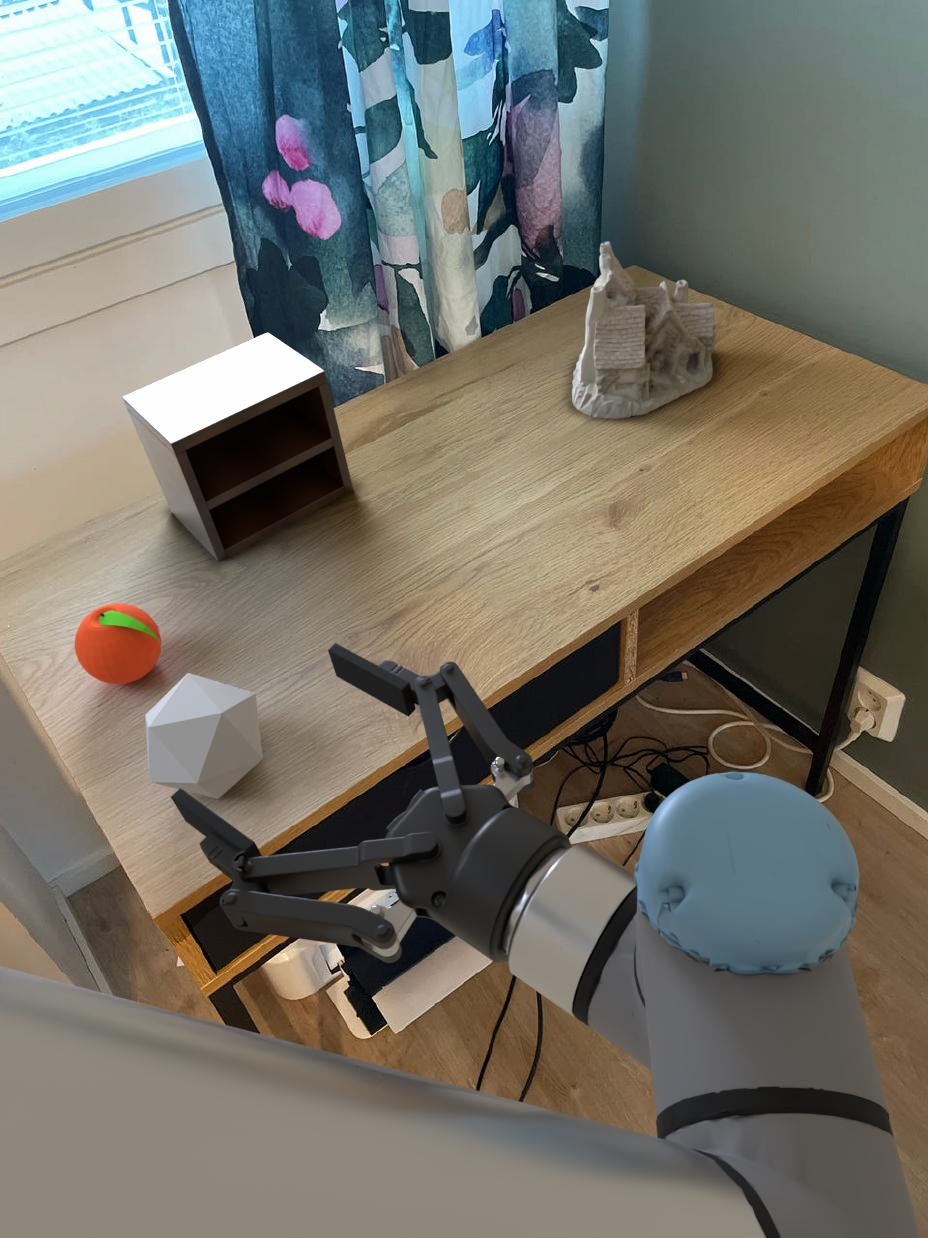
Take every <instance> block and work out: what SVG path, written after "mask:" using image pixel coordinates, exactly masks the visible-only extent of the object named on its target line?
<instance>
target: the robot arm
mask: <svg viewBox="0 0 928 1238" xmlns="http://www.w3.org/2000/svg"><path fill="white" fill-rule="evenodd" d="M327 652H328V654H329V657H330V661H331V664H332V668H333V670H334V674H335V676H336V678H338V679H340V680H342V681H343V682H346V683H347V684H349V685H351V686H353V687H354V688H356V689H358V690H360V691H362V692H363V693H365V694H367V695H369V696H371V697H373V698H374V699H376V700H378V701H380V702H381V703H383V704H385V705H387V706H388V707H390V708H392V709H394V710H396V711H397V712H399V713H401V714H403V715H405V716H406V717H408V718H409V717H410V716H411V715H413V713H414V712H415V711H416V710H417V708H416V705H417V706H418V708H419V711H420V715H421V719H422V723H423V728H424V732H425V737H426V741H427V744H428V749H429V753H430V757H431V761H432V766H433V769H434V774H435V777H436V783H437V786H433V787H430V788H427V789H425V790H422V789H421V788H420V789H419V790H418V791H417V793H416V794H415V795H414V796H412V799H411V800H410V803H408V806H407V808H406V809H405V811H403V812H402V813H401V814H399V815H398V816H396V817H395V818H394V819H393V820H392V821H391V822H390V823H389V824H388V825H387V827H386V828H385V831H386V835H385V837H384V838H377V839H376V838H375V839H367V840H363V841H362V842H360V843H359V844H358V845H355V846H347V847H339V848H328V849H318V850H310V851H309V850H308V851H299V852H291V853H281V854H271V855H262V853H261V851H260V849H259V848H258V845H257V844H256V842H255V841H254V840H252V839H251V838H249V837H248V836H247V835H246V834H244V833H243V832H242V831H240V830H238V829H237V827H234V826H233V825H232V824H230V823H229V822H228V821H227V820H225V819H224V818H222V817H221V816H219V815H218V814H216V812H214V811H213V810H211V809H210V808H209V807H208V806H206V805H205V804H203V803H202V802H200V801H199V800H197V799H196V798H195V797H193V796H192V795H191V794H190V793H189V792H188V791H184V790H182V789H181V788H180V789H177V791H175V792H174V793H173V794H172V795H171V796H170V799H171V800H172V802H173V803H174V805H175V807H176V809H177V810H178V811H179V813H180V815H181V816H182V818H183V819H184V821H185V822H186V823H187V824H188V825H189V826H191V827H193V828H194V829H195V830H196V831H198V832H199V833H200V834H201V835H203V836H204V838H203V839H202V840H201V841H200V842H199V843H198V844H199V848H201V851H202V852H203V854H204V856H205V858H206V859H207V860H208V862H209V864H211V865H212V866H213V867H214V868H216V869H217V870H218V871H220V872H221V873H222V874H223V875H225V876H226V877H227V878H229V879H230V880H231V881H232V884H231V886H230V888H229V889H228V890H226V891H224V892H223V893H222V895H221V896H220V898H219V906H220V908H221V909H222V911H223V913H224V914H225V915H226V917H227V918H228V920H229V921H230V924H232V926H233V927H234V929H235V930H238V931H243V932H250V933H258V934H265V935H271V936H277V937H285V938H292V939H299V940H306V941H313V942H319V943H327V944H332V945H333V944H335V945H341V946H348V947H355V948H359V949H361V950H363V951H364V952H366V953H368V954H370V955H371V956H374V957H375V958H377V959H379V960H381V961H382V962H385V963H387V964H391V963H395V962H397V961H398V960H399V959H400V958H401V957H402V953H403V949H402V945H401V941H402V940H403V939H404V937H405V936H406V934H407V932H408V931H409V929H410V928H411V926H412V925H413V923H414V921H415V920H416V919H417V918H424V919H425V918H426V919H429V920H433V921H434V922H436V923H438V924H439V925H441V926H442V927H443V928H444V929H446V930H447V931H449V932H450V933H452V935H454V936H456V937H457V938H459V939H460V940H461V941H463V942H465V943H466V944H467V945H469V946H470V947H472V948H473V949H475V950H476V951H477V952H479V953H480V954H482V956H485V957H486V958H488V959H489V960H490V961H492V962H494V963H502V962H503V963H505V962H507V963H508V967H509V968H508V969H509V973H510V974H511V975H513V976H514V977H516V978H517V979H519V980H520V981H521V982H523V983H524V984H526V985H527V986H529V987H530V988H532V990H534V991H536V992H537V993H539V994H540V995H541V996H543V997H544V998H546V999H547V1000H549V1001H550V1002H551V1003H552V1004H554V1005H556V1006H557V1007H558V1008H560V1009H561V1010H563V1011H564V1012H566V1013H567V1014H568V1015H570V1016H571V1017H573V1018H576V1020H578V1021H580V1023H583V1024H584V1025H585V1026H588V1028H590V1029H592V1030H593V1031H595V1032H596V1033H597V1034H599V1035H600V1036H601V1037H603V1038H604V1039H605V1040H607V1041H609V1042H610V1043H611V1044H613V1045H614V1046H616V1047H617V1048H619V1049H620V1050H621V1051H622V1052H624V1053H626V1054H627V1055H628V1056H630V1057H631V1058H633V1059H634V1060H635V1061H637V1062H638V1063H640V1064H641V1065H643V1066H644V1067H645V1068H646V1069H648V1070H649V1071H651V1077H652V1087H653V1096H654V1106H655V1107H654V1108H655V1117H656V1120H655V1126H656V1127H655V1128H656V1136H651V1135H649V1134H644V1133H641V1132H637V1131H633V1130H629V1129H625V1128H622V1127H617V1126H614V1125H610V1124H607V1123H602V1122H599V1121H595V1120H592V1119H587V1118H583V1117H579V1116H576V1115H572V1114H568V1113H565V1112H562V1111H561V1112H560V1111H556V1110H553V1109H550V1108H549V1109H548V1108H545V1107H541V1106H538V1105H533V1104H530V1103H527V1102H522V1101H519V1100H515V1099H510V1098H507V1097H503V1096H499V1095H495V1094H492V1093H487V1092H484V1091H480V1090H477V1089H473V1088H469V1087H464V1086H460V1085H457V1084H453V1083H449V1082H446V1081H443V1080H438V1079H435V1078H430V1077H427V1076H423V1075H419V1074H414V1073H412V1072H406V1071H405V1070H404V1071H403V1070H399V1069H396V1068H392V1067H388V1066H384V1065H380V1064H377V1063H372V1062H370V1061H366V1060H361V1059H357V1058H353V1057H351V1056H345V1055H342V1054H338V1053H334V1052H331V1051H326V1050H322V1049H320V1048H316V1047H312V1046H307V1045H305V1044H300V1043H296V1042H292V1041H289V1040H284V1039H280V1038H276V1037H273V1036H269V1035H265V1034H261V1033H257V1032H253V1031H250V1030H246V1029H242V1028H239V1027H235V1026H230V1025H227V1024H223V1023H219V1022H216V1021H212V1020H208V1019H204V1018H200V1017H197V1016H193V1015H189V1014H185V1013H181V1012H177V1011H173V1010H170V1009H166V1008H162V1007H158V1006H154V1005H150V1004H146V1003H143V1002H139V1001H135V1000H130V999H127V998H124V997H120V996H115V995H113V994H108V993H105V992H100V991H97V990H93V989H89V988H86V987H82V986H79V985H74V984H70V983H66V982H62V981H59V980H54V979H50V978H47V977H43V976H40V975H36V974H32V973H28V972H24V971H21V970H17V969H14V968H13V969H12V968H9V967H5V966H1V965H0V1238H922V1237H921V1233H920V1230H919V1225H918V1222H917V1218H916V1213H915V1210H914V1206H913V1203H912V1200H911V1196H910V1192H909V1188H908V1184H907V1181H906V1177H905V1173H904V1169H903V1166H902V1161H901V1158H900V1155H899V1151H898V1147H897V1143H896V1139H895V1135H894V1131H893V1129H892V1125H891V1121H890V1113H889V1109H888V1105H887V1100H886V1097H885V1093H884V1090H883V1089H884V1088H883V1085H882V1082H881V1077H880V1074H879V1069H878V1066H877V1062H876V1059H875V1058H876V1057H875V1054H874V1050H873V1046H872V1042H871V1038H870V1034H869V1029H868V1026H867V1022H866V1018H865V1014H864V1011H863V1006H862V1003H861V999H860V996H859V991H858V987H857V984H856V981H855V977H854V976H855V975H854V972H853V969H852V964H851V961H850V957H849V953H848V950H847V941H848V935H849V934H850V933H851V931H852V929H853V927H854V925H855V924H856V922H857V919H856V912H857V910H858V901H857V896H858V892H859V886H860V870H859V869H860V868H859V864H858V863H859V862H858V858H857V856H856V854H857V853H856V852H855V848H854V847H853V843H852V842H851V839H850V838H849V836H848V833H847V832H846V830H845V829H844V827H843V825H842V824H841V823H840V822H839V820H838V819H837V818H836V816H835V815H834V814H833V813H832V812H831V810H829V809H828V808H827V807H826V806H825V805H824V804H823V803H822V802H821V801H819V800H818V799H817V798H815V797H814V796H812V795H811V794H810V793H808V792H807V791H806V790H804V789H802V788H800V787H798V786H796V785H794V784H792V783H789V782H787V781H786V780H783V779H781V778H777V777H774V776H770V775H767V774H764V773H763V774H762V773H758V772H740V771H739V772H738V771H728V772H721V773H718V772H716V773H711V774H707V775H704V776H701V777H698V778H696V779H693V780H690V781H689V782H687V783H684V784H683V785H681V786H680V787H678V788H676V789H675V790H674V791H673V792H671V793H670V794H669V795H668V796H667V797H665V798H664V799H663V801H662V802H661V803H660V804H659V805H658V807H657V808H656V810H655V811H654V812H653V814H652V816H651V817H650V819H649V822H648V823H647V826H646V829H645V833H644V836H643V842H642V847H641V850H640V853H639V860H638V861H637V863H635V864H634V871H633V873H632V872H631V871H629V870H627V869H626V868H624V867H622V866H620V865H619V864H618V863H616V862H614V861H613V860H611V859H609V858H608V857H606V856H604V855H603V854H601V853H599V851H596V850H594V849H593V848H591V847H590V846H588V845H586V844H583V843H580V844H575V845H573V846H572V844H571V841H570V838H569V836H568V835H567V834H566V833H565V832H563V831H561V830H559V829H558V828H556V827H554V826H552V825H551V824H549V823H547V822H546V821H544V820H542V819H540V818H538V817H537V816H535V815H534V814H531V813H530V812H529V811H526V810H525V809H523V808H521V807H516V806H514V805H512V803H510V801H511V800H512V799H513V798H514V797H515V796H516V795H517V794H518V793H519V792H520V793H529V792H531V791H532V790H533V789H534V787H535V774H534V763H533V758H532V756H531V755H530V754H529V753H528V752H527V751H525V750H524V749H522V748H521V747H520V746H517V744H515V743H514V742H512V741H511V740H509V739H508V738H507V736H506V735H505V733H504V732H503V731H502V729H501V727H500V726H499V725H498V723H497V721H496V720H495V719H494V717H493V716H492V714H491V713H490V712H489V710H488V708H487V707H486V706H485V704H484V702H483V701H482V699H481V698H480V697H479V695H478V694H477V692H476V690H475V689H474V688H473V686H472V685H471V683H470V681H469V679H467V677H466V676H465V674H464V672H463V671H462V670H461V667H459V665H458V664H457V663H456V662H454V661H445V662H443V663H441V665H440V666H439V670H438V671H437V672H434V673H433V674H431V675H419V674H417V673H416V672H414V671H412V670H410V669H409V668H405V667H404V666H402V665H400V664H399V663H397V662H394V661H393V660H387V659H383V660H382V661H381V663H379V664H378V665H377V664H376V663H374V662H372V661H370V660H369V659H367V658H365V657H362V656H361V655H359V654H357V653H355V652H353V651H351V650H349V649H348V648H346V647H344V646H342V645H340V644H338V643H337V642H335V643H333V644H332V646H331V647H329V649H327ZM446 700H447V702H448V703H449V704H450V706H451V708H452V709H453V711H454V712H455V714H456V715H457V717H458V719H459V720H460V722H461V723H462V725H463V726H464V728H465V730H466V731H467V733H468V734H469V736H470V737H471V740H473V742H474V744H475V745H476V747H477V748H478V750H479V752H480V753H481V754H482V756H483V758H484V759H485V761H486V763H487V765H488V766H489V767H490V774H491V779H492V781H493V785H492V784H486V783H485V784H464V785H463V784H461V783H460V779H459V775H458V771H457V768H456V763H455V759H454V757H453V753H452V749H451V745H450V742H449V741H450V740H449V737H448V733H447V729H446V726H445V722H444V719H443V715H442V711H441V707H440V703H443V702H444V701H446ZM382 864H388V865H382ZM353 889H354V890H355V889H368V890H370V891H374V892H375V891H376V892H377V891H378V892H379V891H389V890H395V894H396V896H397V898H398V901H397V902H396V903H395V904H393V905H391V906H384V905H379V904H374V905H372V906H371V907H370V909H366V908H364V907H361V906H359V905H356V904H355V905H354V904H350V903H342V902H335V901H330V900H329V901H328V900H320V899H313V898H307V897H297V896H295V895H306V894H314V893H316V894H317V893H325V892H334V891H335V892H336V891H345V890H353Z"/></svg>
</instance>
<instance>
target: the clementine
mask: <svg viewBox="0 0 928 1238" xmlns="http://www.w3.org/2000/svg"><path fill="white" fill-rule="evenodd" d="M161 649H162V637H161V632H160V629H159V626H158V624H157V623H156V622H155V620H153V618H152V617H151V616H150V614H149V613H147V612H146V611H144V609H143V610H142V609H141V608H140V607H138V606H136V605H131V604H128V603H123V602H113V603H109V604H108V603H107V604H105V605H102V606H99V607H98V608H95V609H94V610H92V611H91V612H90V613H88V614H87V615H86V616H85V617H84V618H83V619H82V620H81V622H80V624H79V626H78V627H77V630H76V633H75V637H74V651H75V656H76V658H77V660H78V663H79V664H80V666H81V667H82V668H83V670H84V671H85V672H87V674H88V675H90V676H91V677H93V678H94V679H95V680H98V681H100V682H102V683H106V684H111V685H125V684H131V683H133V682H136V681H138V680H140V679H142V678H144V677H145V676H146V675H148V674H149V673H150V672H151V671H152V669H153V668H155V665H156V663H157V662H158V659H159V658H160V655H161Z"/></svg>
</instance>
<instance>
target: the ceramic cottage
mask: <svg viewBox="0 0 928 1238" xmlns="http://www.w3.org/2000/svg"><path fill="white" fill-rule="evenodd" d="M599 253H600V255H599V257H598V259H599V260H598V261H599V270H600V275H599V277H598V278H597V279H596V280H595V281H594V284H593V286H592V287H591V289H590V294H589V300H588V304H587V309H586V313H585V334H584V337H585V339H584V346H583V348H582V351H581V353H580V354H579V356H578V361H576V365H575V369H574V370H573V372H572V375H573V380H572V381H571V382H572V389H571V396H572V398H571V400H572V405H573V406H574V407H575V409H576V410H577V411H578V412H580V413H581V414H583V415H586V416H588V417H592V418H595V419H604V420H605V419H606V420H608V419H610V420H612V419H613V420H618V419H625V418H631V417H632V416H633V417H635V416H636V417H637V416H643V415H646V414H649V413H650V412H653V411H655V410H657V409H658V408H660V407H662V406H664V405H667V404H669V403H671V402H672V401H674V400H677V399H678V398H679V397H681V396H685V395H686V394H689V393H692V392H693V391H695V390H697V389H700V388H703V387H704V386H705V385H707V383H708V382H711V380H712V377H713V374H714V372H713V371H714V370H713V367H714V366H713V359H712V354H713V352H714V350H713V348H714V347H715V346H716V342H715V341H716V336H717V333H716V332H715V329H716V326H714V323H715V313H714V308H715V307H714V302H697V303H696V302H695V303H693V302H692V303H691V302H689V283H688V281H687V280H685V279H680V280H677V281H676V283H675V289H674V288H672V286H671V285H670V284H668V282H666V281H665V280H663V281H662V282H660V284H659V286H646V287H637V286H636V285H635V283H634V280H633V279H632V277H631V276H630V274H629V273H628V272H627V271H626V270H625V269H624V268H623V267H622V265H621V263H620V260H619V259H618V258H617V257H616V256H615V253H614V251H613V247H612V245H611V242H610V241H604V242H602V243H600V246H599Z"/></svg>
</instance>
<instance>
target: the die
mask: <svg viewBox="0 0 928 1238" xmlns="http://www.w3.org/2000/svg"><path fill="white" fill-rule="evenodd" d="M257 701H258V700H257V694H256V692H253V691H251V690H247V689H243V688H241V687H238V686H237V687H236V686H234V685H230V684H226V683H223V682H221V681H217V680H213V679H211V678H207V677H205V676H199V675H197V674H193V673H190V672H187V673H186V674H185V675H184V677H182V678H181V679H180V680H179V681H178V682H177V683H176V684H175V685H174V686H173V687H172V688H171V689H170V690H169V691H167V693H166V694H165V695H163V696H162V698H161V699H160V700H159V701H157V703H155V705H154V706H153V707H152V708H150V710H149V711H148V712H146V714H145V716H144V717H145V719H144V720H145V733H146V735H145V737H146V751H147V768H148V782H149V783H152V784H157V785H160V786H164V787H168V788H172V789H176V790H179V789H180V788H181V789H182V790H184V791H185V792H187V793H191V794H196V795H200V796H205V797H207V798H208V797H209V798H211V799H216V800H219V799H220V798H221V797H223V796H224V795H225V794H226V793H227V792H228V791H229V790H230V789H232V787H234V786H235V785H236V784H237V783H238V782H239V781H240V780H241V779H243V777H245V776H246V775H247V774H248V773H249V772H250V771H251V770H252V769H254V768H255V767H256V766H257V765H258V764H259V763H260V762H261V761H262V760H263V759H264V755H263V746H262V737H261V730H260V728H261V727H260V721H259V720H260V719H259V711H258V702H257Z"/></svg>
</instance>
